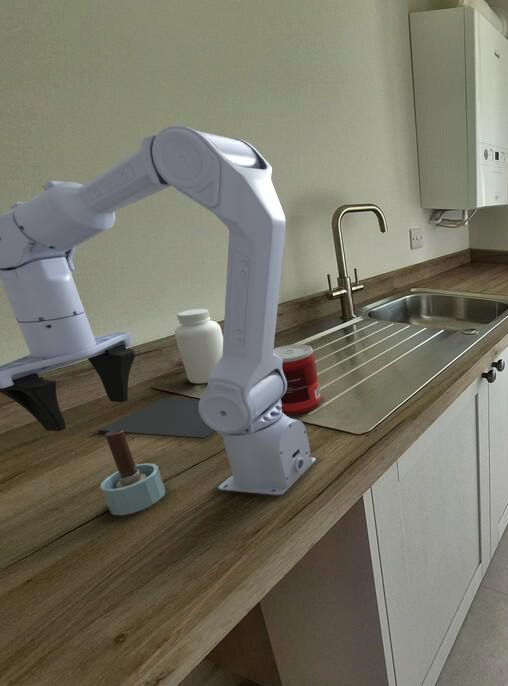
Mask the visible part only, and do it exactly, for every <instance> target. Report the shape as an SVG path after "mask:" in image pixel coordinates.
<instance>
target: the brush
mask: <svg viewBox="0 0 508 686" xmlns="http://www.w3.org/2000/svg"><path fill="white" fill-rule="evenodd" d="M104 436H105V439H106V442H107V445H108V447H109V449H110V453H111V455H112V457H113V461H114V463H115V466H116V469H117V471H119V474H120V475H119V477H118V478H119V482H118V483H117V488H123V487H126V486H130V485H133V484H135V483H137V482H140V481H142V480H143V479H145V478H146V475H145V474H142V473H140V470H139V469H137V468H136V466H135V465H136V462H135V460H134V458H133V454H132V452H131V449H130V446H129V443H128V441H127V438H126V433H124V432H123V430H122V429H115V430H112V431H109V432H107V433H104Z"/></svg>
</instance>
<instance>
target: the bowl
mask: <svg viewBox="0 0 508 686" xmlns="http://www.w3.org/2000/svg"><path fill="white" fill-rule="evenodd" d="M135 466H136V468H137V469H139V470H140V473H142V474H145V475H146V478H145V479H143V480H142V481H140V482H137V483H135V484H133V485H130V486H126V487H123V488H117V483H118V482H119V478H118V477H119V475H120V474H119V471H118V470H117V471H116V472H113V473H111V475H109V476H107V477H106V478H105V479H103V481H102V482H100V486H99V488H100V492H101V493H102V497H103V498H104V502H105V505H106V506H107V509H108V511H109V513H110V514H112V515H115V516H125V515H132V514H134V513H137V512H140V511H142V510H145V509H147V508H150V507H151V506H153V505H155V504H156V503H157V502H159V501H160V500H161V499H162V498H163V497H164V496H165V494H166V487H165V484H164V481H163V478H162V475H161V472H160V469H159V466H158V465H157V464H155V463H149V462H145V463H139V464H135Z"/></svg>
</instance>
